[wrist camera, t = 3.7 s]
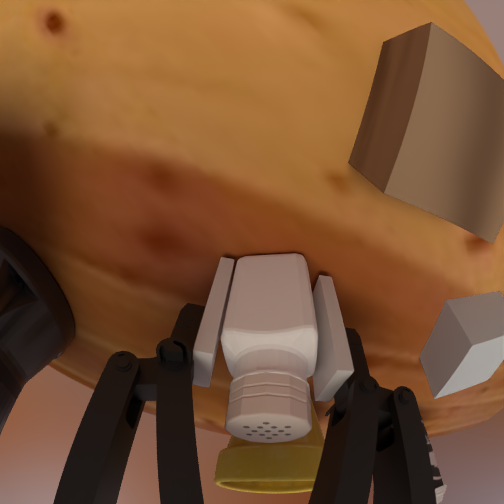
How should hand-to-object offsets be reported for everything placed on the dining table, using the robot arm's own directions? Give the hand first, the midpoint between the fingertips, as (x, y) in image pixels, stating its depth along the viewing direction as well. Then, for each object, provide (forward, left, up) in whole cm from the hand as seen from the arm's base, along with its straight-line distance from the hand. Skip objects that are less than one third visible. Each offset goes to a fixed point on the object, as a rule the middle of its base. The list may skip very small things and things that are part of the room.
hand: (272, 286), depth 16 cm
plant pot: (+4, -15, -1) cm, 16 cm away
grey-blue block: (+18, -2, -1) cm, 18 cm away
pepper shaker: (0, 0, -1) cm, 1 cm away
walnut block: (+6, +11, -1) cm, 13 cm away
